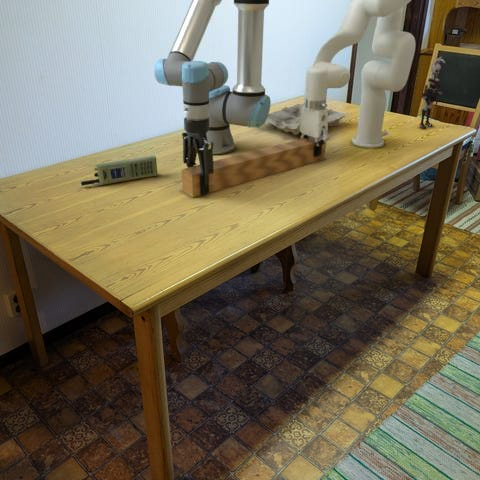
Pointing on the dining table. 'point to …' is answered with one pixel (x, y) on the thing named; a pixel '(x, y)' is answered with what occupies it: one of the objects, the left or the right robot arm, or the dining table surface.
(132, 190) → the dining table surface
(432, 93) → the figurine
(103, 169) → the handheld radio
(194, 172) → the post
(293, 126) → the grey rock slab
